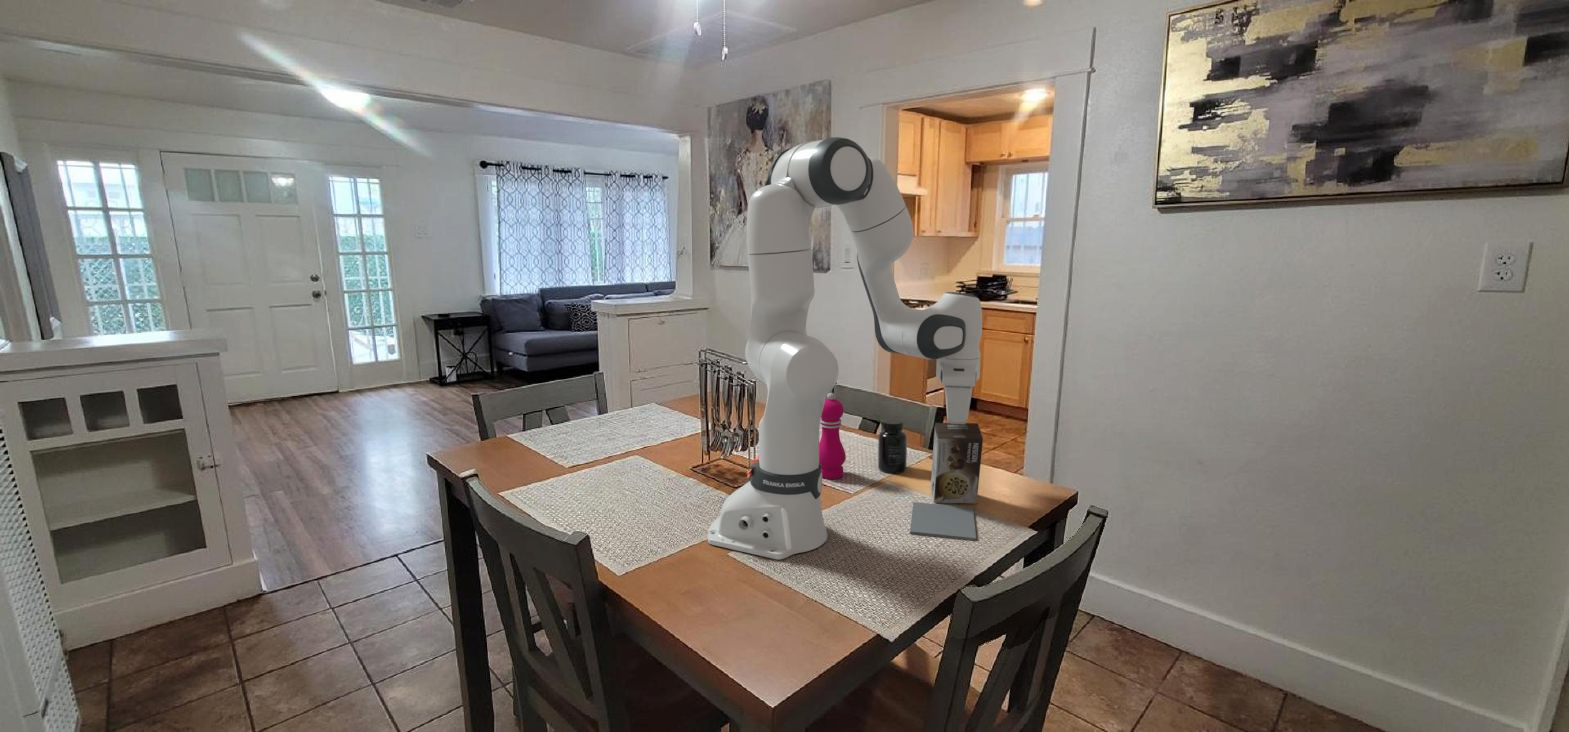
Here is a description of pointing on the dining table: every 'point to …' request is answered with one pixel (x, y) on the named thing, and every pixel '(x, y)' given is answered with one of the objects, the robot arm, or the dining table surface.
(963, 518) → the mat
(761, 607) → the dining table surface
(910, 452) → the dining table surface
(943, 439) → the coffee box
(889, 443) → the supplement bottle
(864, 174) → the robot arm
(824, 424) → the pepper mill
